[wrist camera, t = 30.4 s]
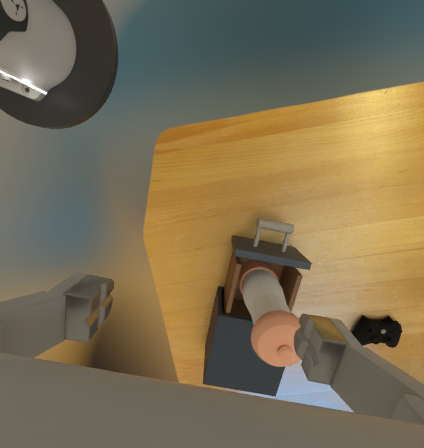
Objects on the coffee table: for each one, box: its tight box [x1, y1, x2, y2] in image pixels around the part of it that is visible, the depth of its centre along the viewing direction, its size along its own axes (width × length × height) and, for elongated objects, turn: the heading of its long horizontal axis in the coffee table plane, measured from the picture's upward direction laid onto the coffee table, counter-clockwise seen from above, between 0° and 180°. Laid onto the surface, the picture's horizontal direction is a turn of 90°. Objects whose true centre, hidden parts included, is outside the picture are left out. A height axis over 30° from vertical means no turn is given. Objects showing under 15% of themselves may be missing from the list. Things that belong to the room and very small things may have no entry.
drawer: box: [222, 218, 312, 318], centre depth 39 cm, size 18×12×8 cm
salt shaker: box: [238, 260, 301, 367], centre depth 33 cm, size 7×7×19 cm
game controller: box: [353, 316, 402, 348], centre depth 46 cm, size 10×5×7 cm
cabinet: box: [203, 286, 285, 396], centre depth 43 cm, size 15×14×10 cm
